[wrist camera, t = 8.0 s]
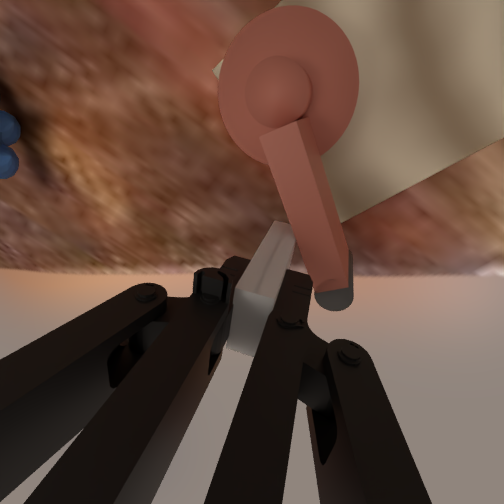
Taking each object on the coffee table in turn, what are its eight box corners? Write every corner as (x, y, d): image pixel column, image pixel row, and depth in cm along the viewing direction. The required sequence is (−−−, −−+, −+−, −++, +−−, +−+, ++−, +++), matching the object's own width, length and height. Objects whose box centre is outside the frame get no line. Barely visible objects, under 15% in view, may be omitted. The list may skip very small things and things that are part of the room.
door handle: (209, 57, 17) (151, 38, 12) (336, -18, 14) (329, -83, 9) (290, 270, 21) (272, 320, 16) (400, 246, 18) (418, 298, 13)
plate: (670, -375, 11) (875, -680, 7) (755, -4, 14) (936, -52, 10) (218, 71, 22) (186, 64, 17) (320, 229, 25) (314, 255, 20)
